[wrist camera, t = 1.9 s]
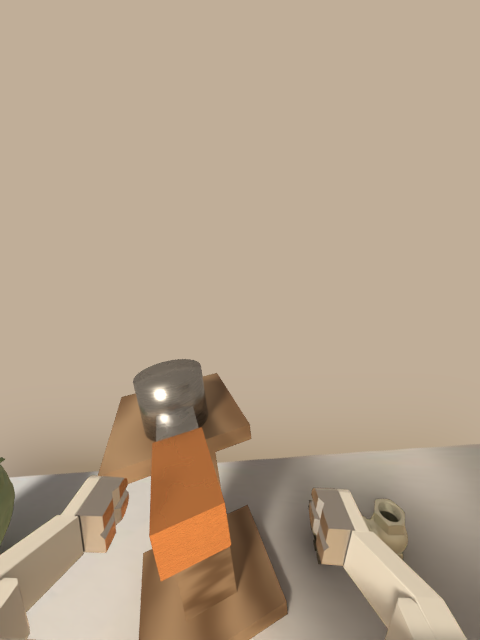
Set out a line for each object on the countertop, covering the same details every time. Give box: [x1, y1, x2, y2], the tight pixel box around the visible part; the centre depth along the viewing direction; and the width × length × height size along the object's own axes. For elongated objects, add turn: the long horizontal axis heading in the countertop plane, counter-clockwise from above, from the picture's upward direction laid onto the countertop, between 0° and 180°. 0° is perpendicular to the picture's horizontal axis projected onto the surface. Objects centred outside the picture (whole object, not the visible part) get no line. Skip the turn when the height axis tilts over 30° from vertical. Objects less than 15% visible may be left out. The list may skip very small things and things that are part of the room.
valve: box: [308, 499, 408, 565], centre depth 31 cm, size 7×7×12 cm
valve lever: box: [133, 359, 231, 581], centre depth 17 cm, size 6×15×5 cm, turn 20°
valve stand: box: [98, 373, 288, 640], centre depth 27 cm, size 16×12×26 cm
